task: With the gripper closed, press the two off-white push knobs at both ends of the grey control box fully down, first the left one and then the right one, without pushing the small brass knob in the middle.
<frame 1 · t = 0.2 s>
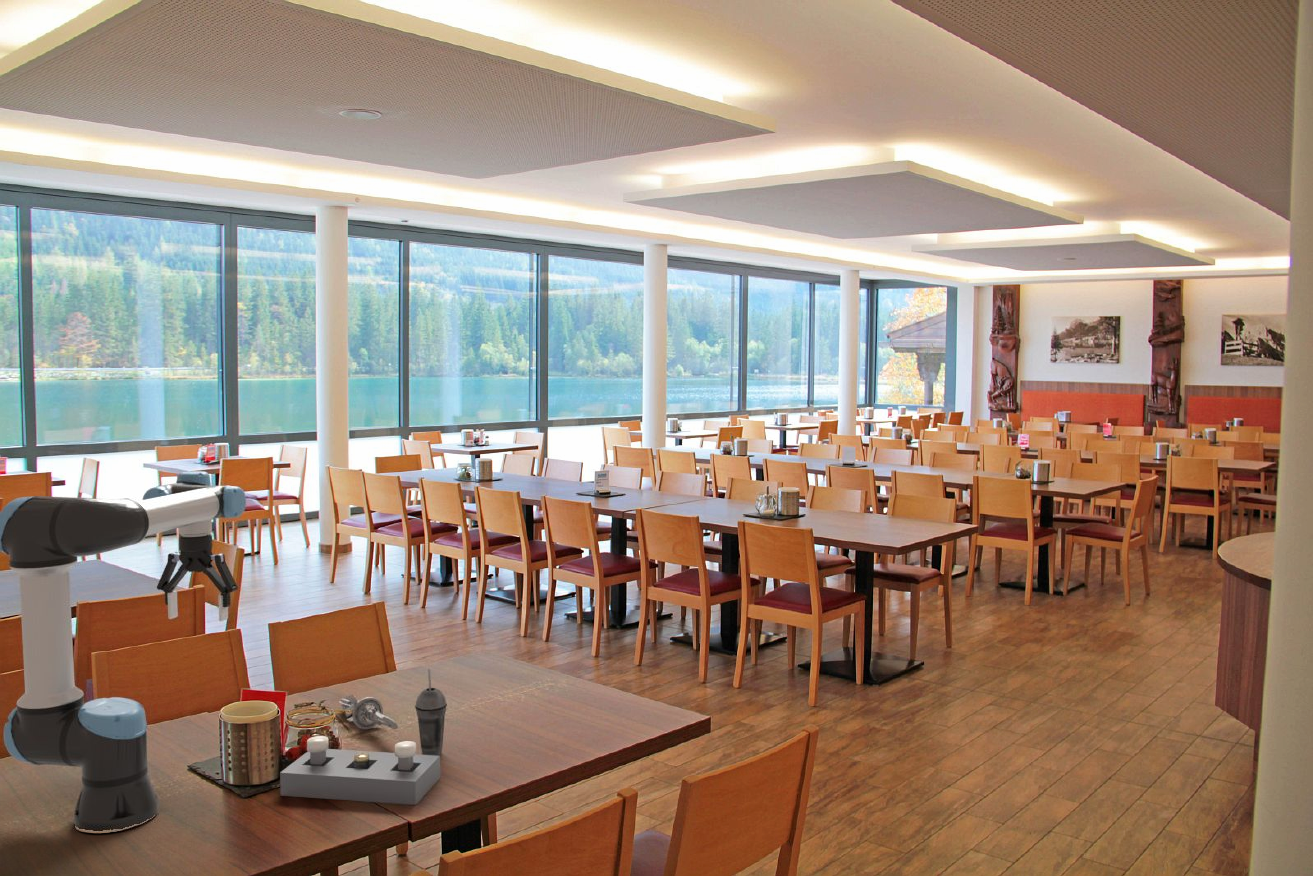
hand: (198, 619, 253), 28 cm above the table, fingers open, 13 cm apart
console: (362, 786, 220), on the table
left knob: (318, 751, 221), point 7 cm above the table, slide at 0.0 cm
spaceship: (368, 729, 255), on the table
beverage cup: (431, 754, 239), on the table
right knob: (405, 756, 218), point 7 cm above the table, slide at 0.0 cm
pot knob: (361, 762, 220), point 5 cm above the table, slide at 0.0 cm
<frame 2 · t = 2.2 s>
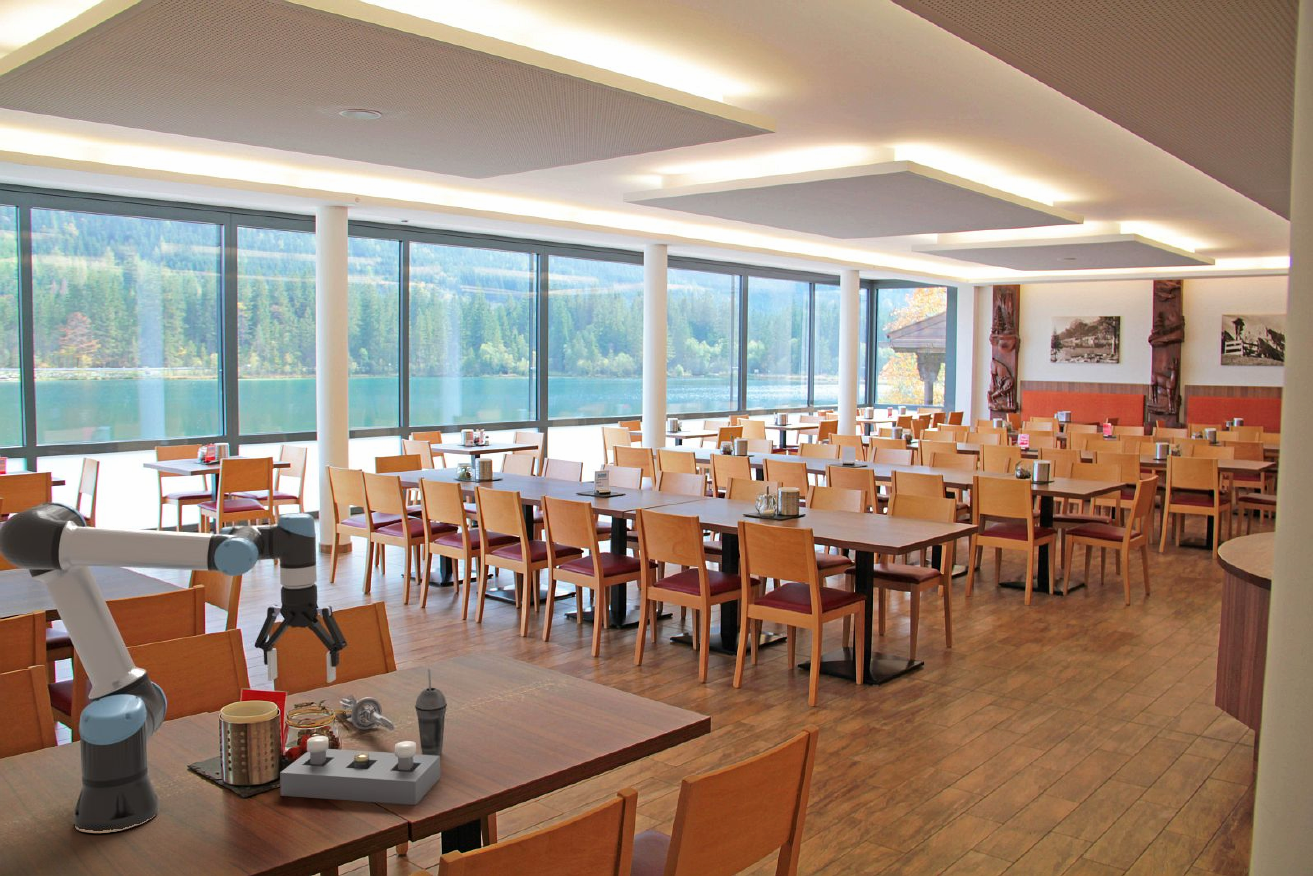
hand: (302, 680, 224), 22 cm above the table, fingers open, 13 cm apart
nothing on the table moved.
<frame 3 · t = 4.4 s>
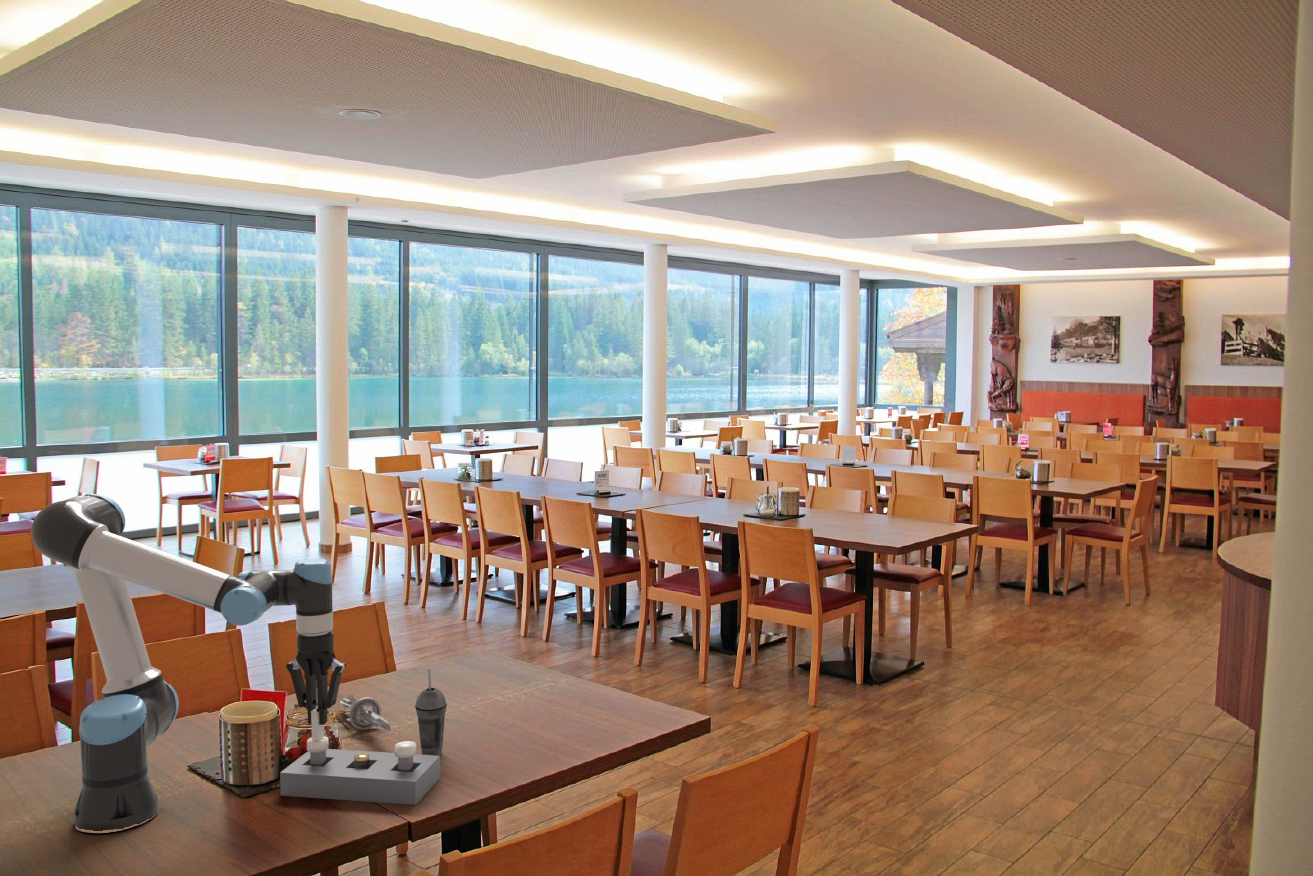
hand: (318, 738, 221), 10 cm above the table, fingers closed
left knob: (318, 751, 221), point 7 cm above the table, slide at 0.0 cm, touching gripper
everything else where it was.
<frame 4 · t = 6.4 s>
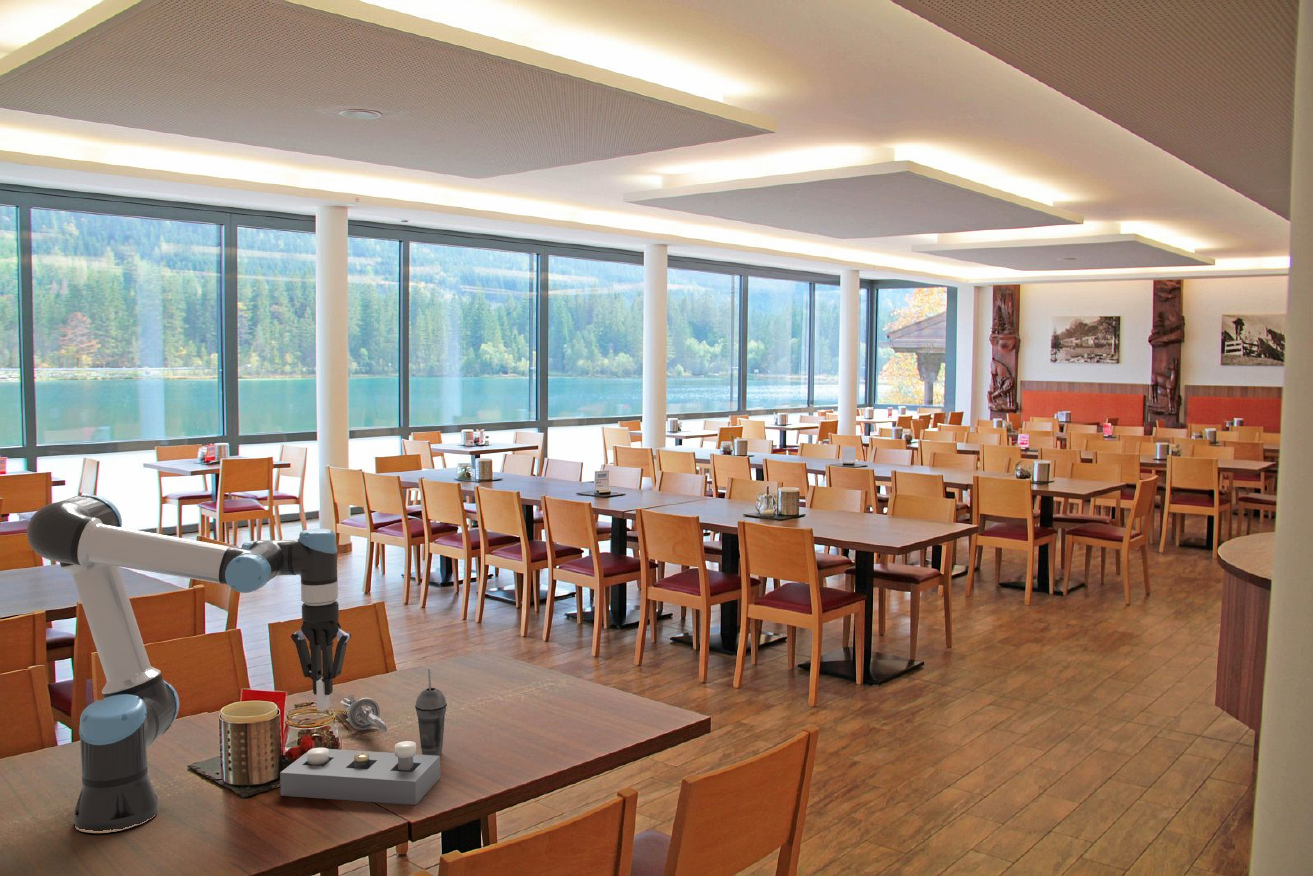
hand: (323, 709, 220), 17 cm above the table, fingers closed
left knob: (318, 762, 221), point 5 cm above the table, slide at 2.6 cm
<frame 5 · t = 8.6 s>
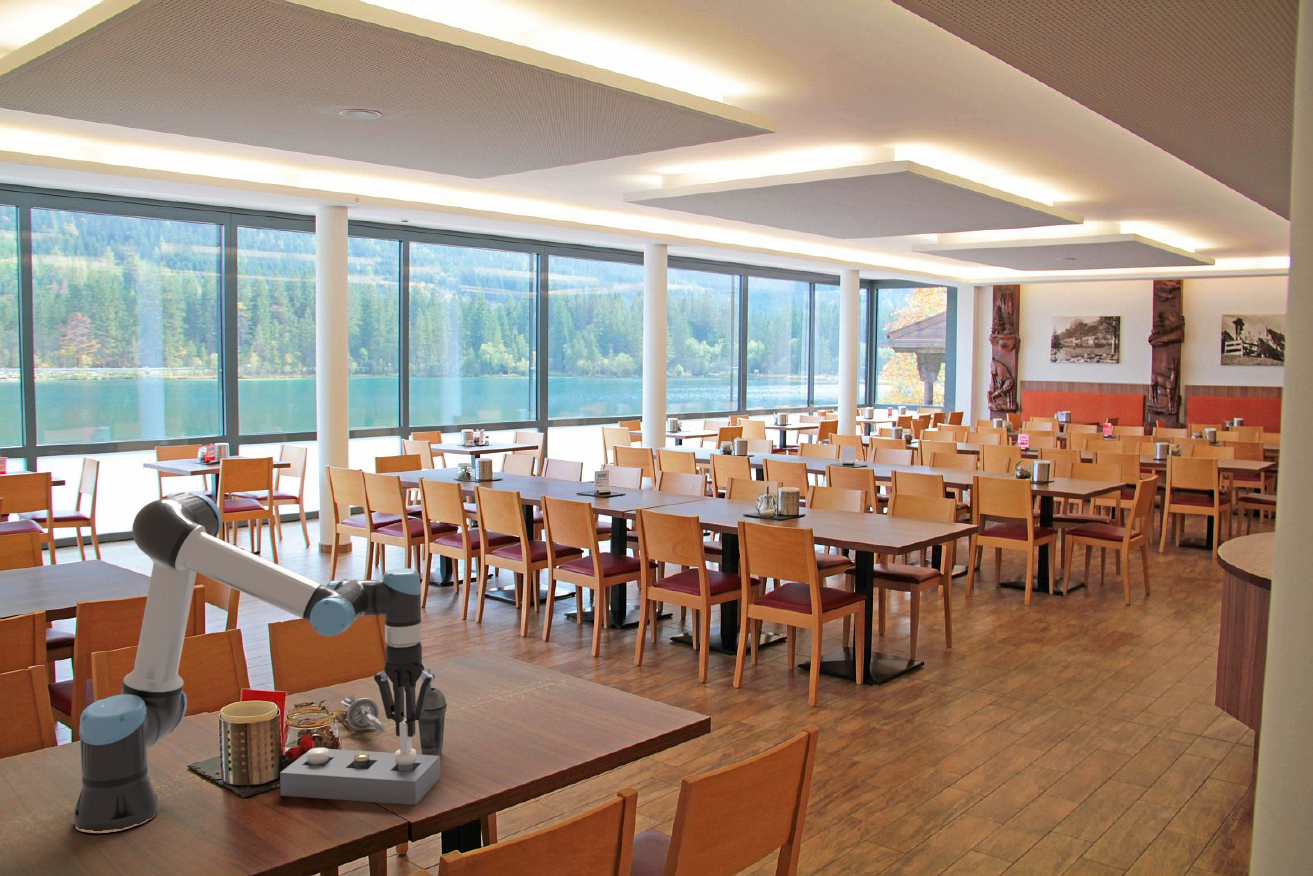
hand: (406, 750, 218), 9 cm above the table, fingers closed
right knob: (405, 763, 218), point 6 cm above the table, slide at 1.5 cm, touching gripper
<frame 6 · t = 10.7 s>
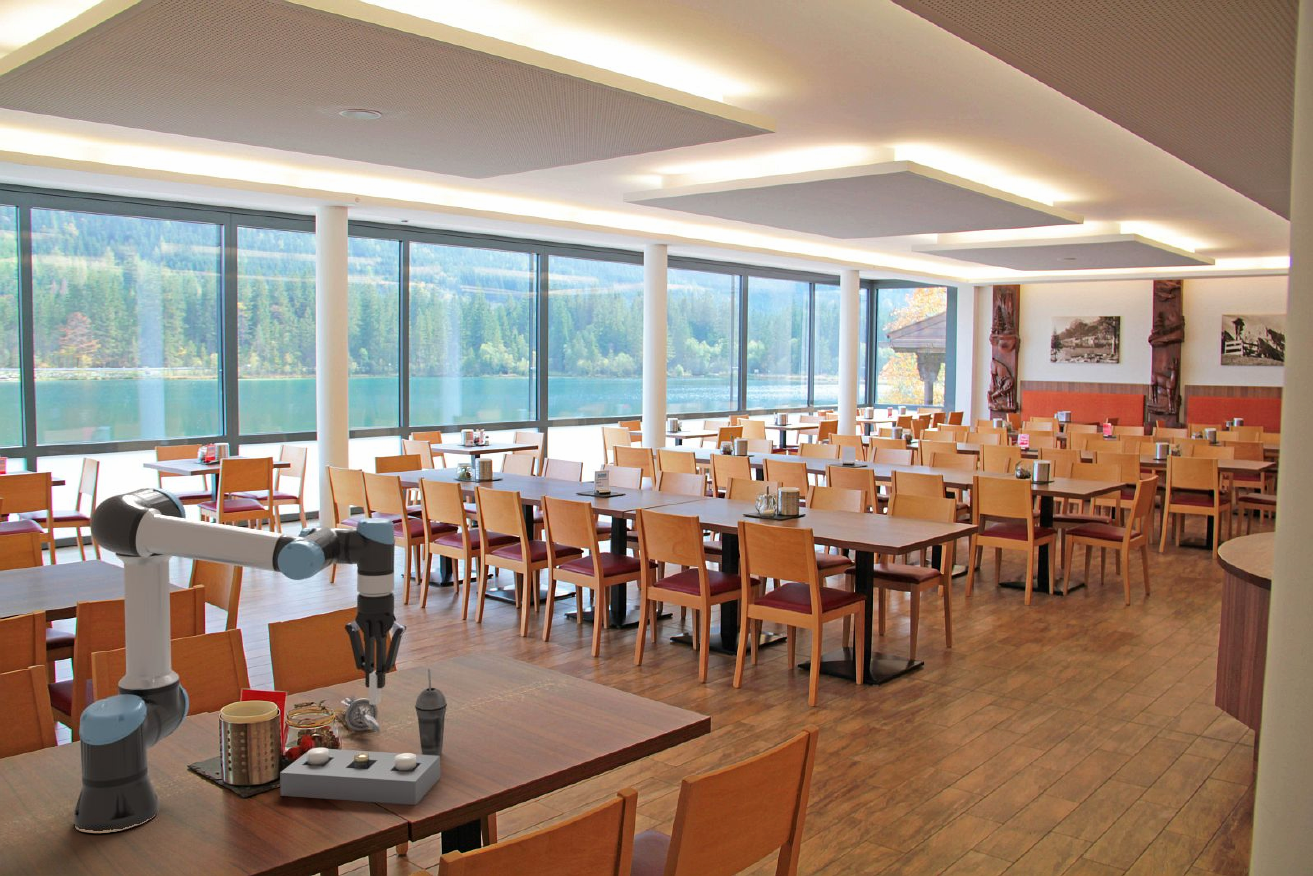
hand: (375, 702, 216), 20 cm above the table, fingers closed
right knob: (405, 768, 218), point 5 cm above the table, slide at 2.6 cm
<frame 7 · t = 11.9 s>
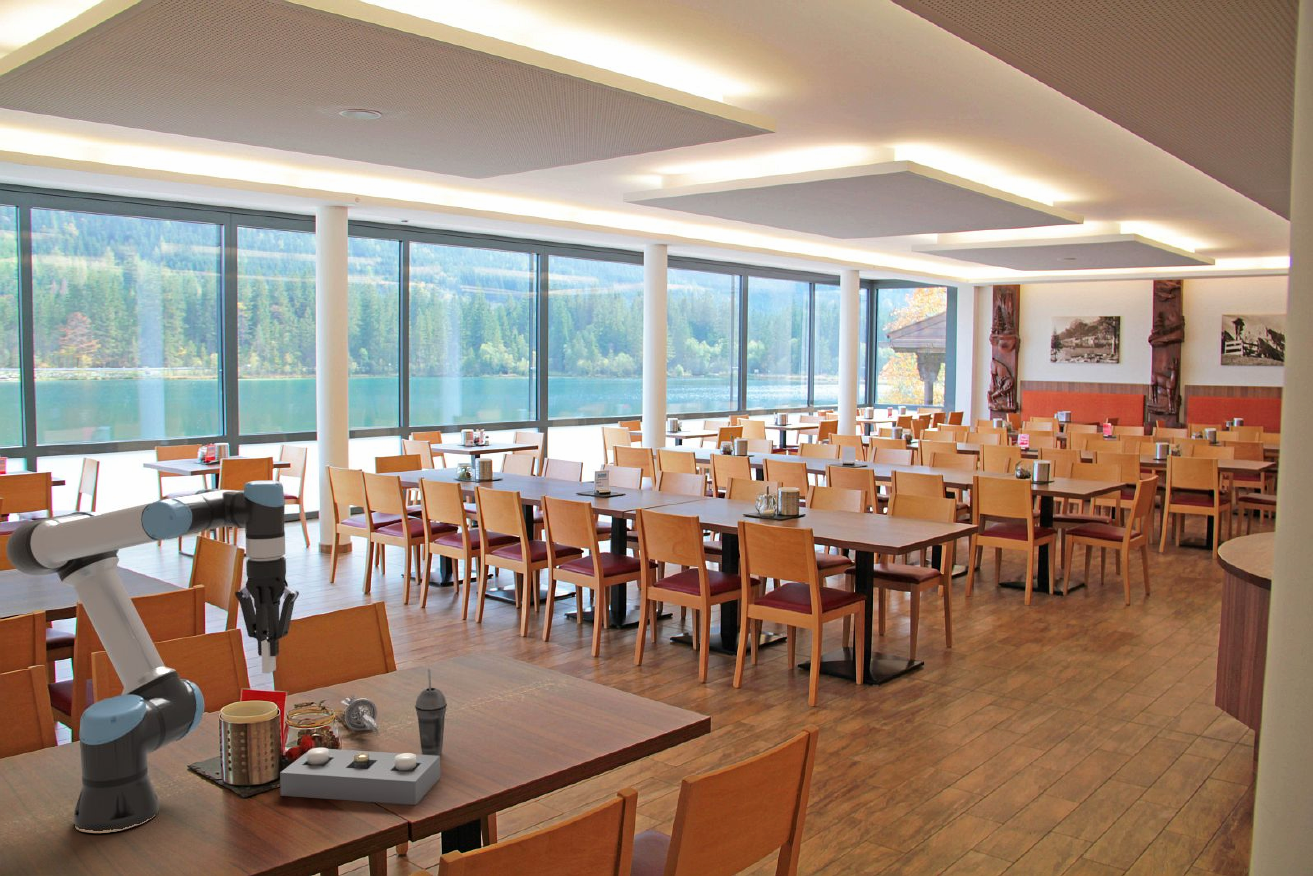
hand: (269, 671, 208), 28 cm above the table, fingers closed
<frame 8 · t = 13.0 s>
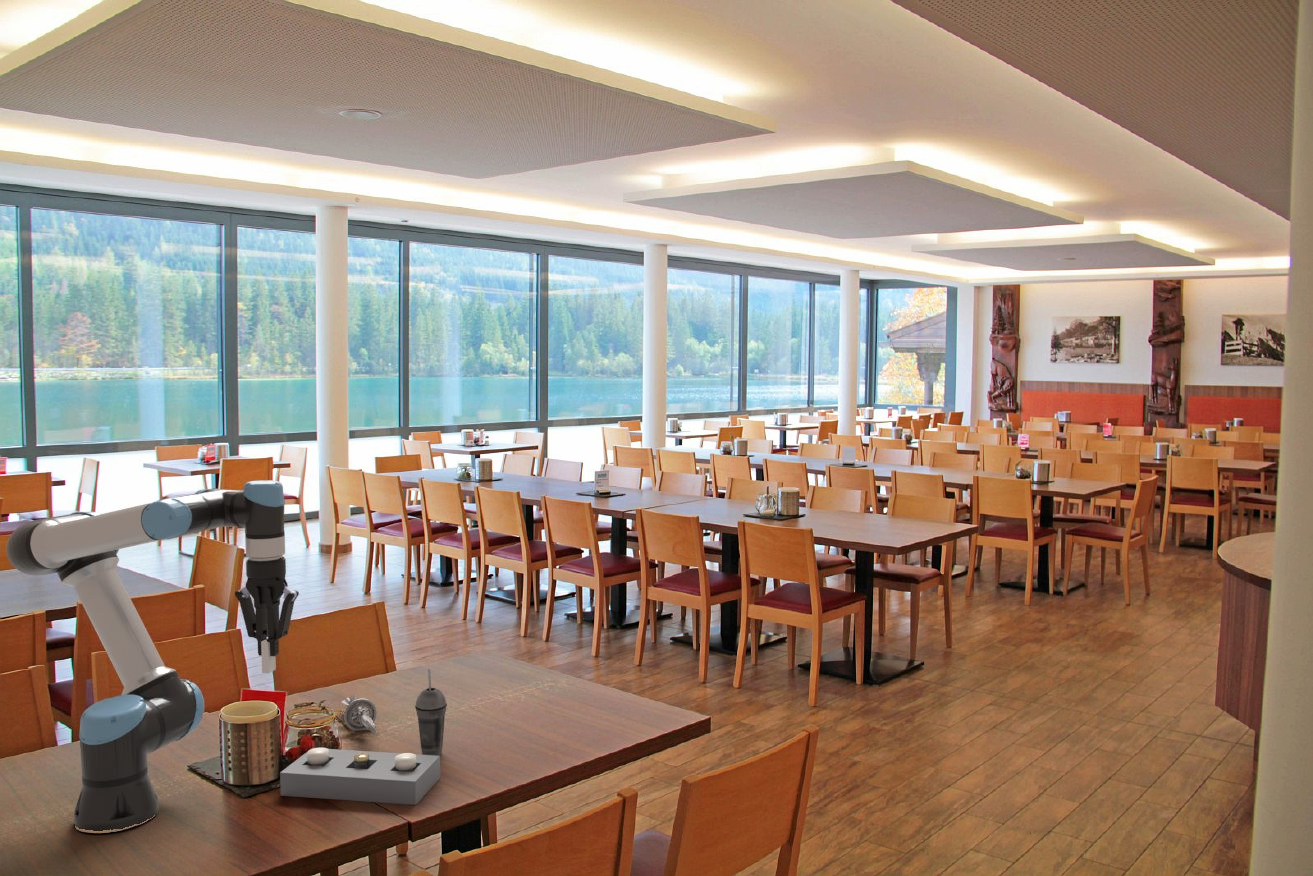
hand: (268, 671, 208), 28 cm above the table, fingers closed
at the end: left knob slide at 2.6 cm; right knob slide at 2.6 cm; pot knob slide at 0.0 cm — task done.
